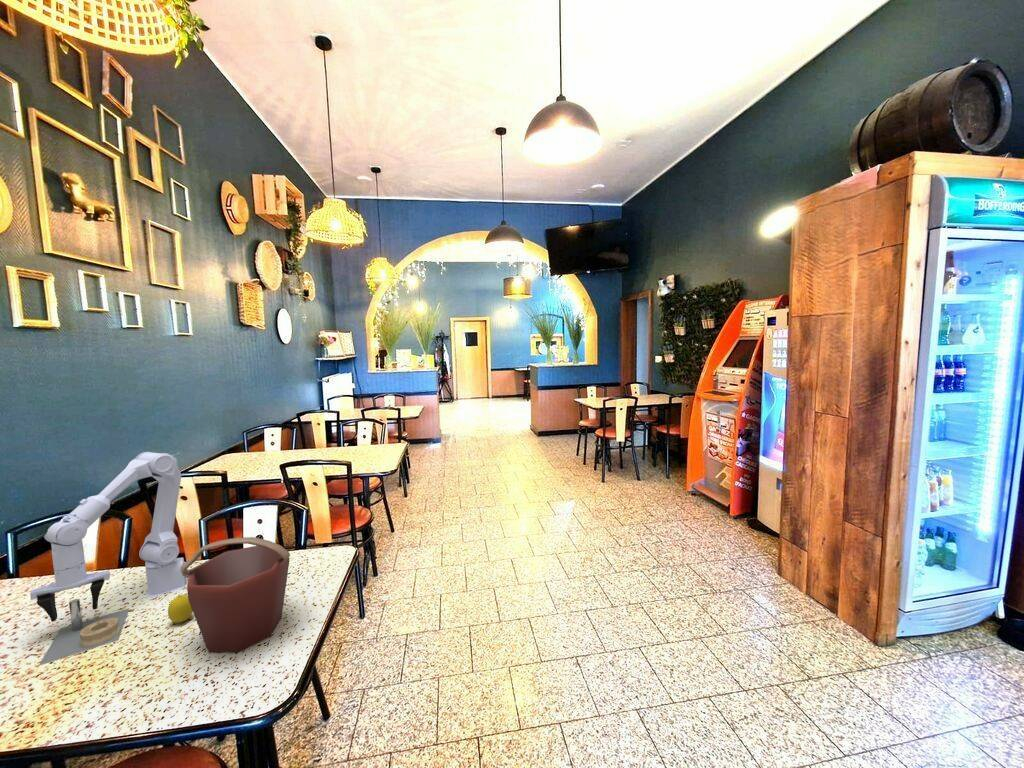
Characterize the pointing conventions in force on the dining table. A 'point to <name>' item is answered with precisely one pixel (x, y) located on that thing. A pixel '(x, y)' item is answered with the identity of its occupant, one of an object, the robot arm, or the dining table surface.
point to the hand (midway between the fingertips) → (75, 613)
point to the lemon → (179, 609)
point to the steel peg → (76, 614)
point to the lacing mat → (78, 638)
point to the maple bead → (99, 632)
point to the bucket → (238, 593)
